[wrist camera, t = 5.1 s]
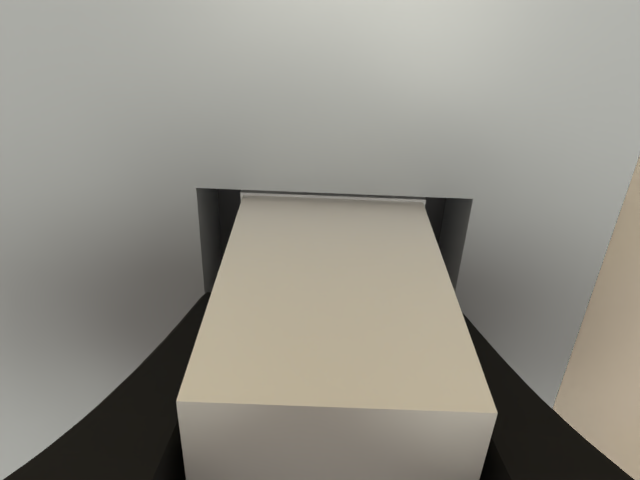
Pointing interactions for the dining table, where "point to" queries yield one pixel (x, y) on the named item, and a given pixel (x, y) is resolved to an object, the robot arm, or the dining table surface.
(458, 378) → the charger plug
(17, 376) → the outlet plate
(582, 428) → the dining table surface
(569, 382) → the dining table surface
